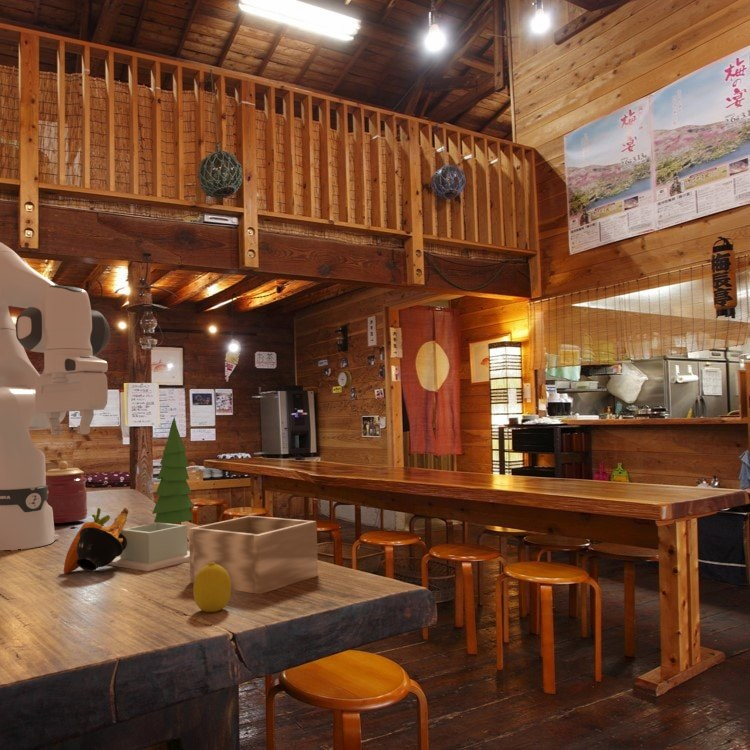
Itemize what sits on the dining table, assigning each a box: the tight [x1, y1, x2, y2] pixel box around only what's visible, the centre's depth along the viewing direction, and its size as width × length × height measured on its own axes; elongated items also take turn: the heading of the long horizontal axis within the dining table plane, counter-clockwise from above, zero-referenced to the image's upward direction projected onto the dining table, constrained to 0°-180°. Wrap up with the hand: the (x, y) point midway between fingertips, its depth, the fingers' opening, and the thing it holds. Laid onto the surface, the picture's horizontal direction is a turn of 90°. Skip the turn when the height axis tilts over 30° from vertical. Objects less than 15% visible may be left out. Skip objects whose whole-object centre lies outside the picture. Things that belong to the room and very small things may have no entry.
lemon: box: [192, 562, 232, 613], centre depth 100 cm, size 6×6×8 cm
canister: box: [46, 460, 88, 524], centre depth 201 cm, size 13×13×18 cm
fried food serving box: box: [188, 515, 319, 595], centre depth 120 cm, size 17×15×10 cm
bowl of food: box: [76, 507, 130, 573], centre depth 133 cm, size 9×11×18 cm
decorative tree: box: [151, 416, 195, 542], centre depth 161 cm, size 10×9×30 cm
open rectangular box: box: [107, 522, 190, 572], centre depth 139 cm, size 14×14×7 cm
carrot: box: [63, 507, 111, 575], centre depth 134 cm, size 5×5×15 cm
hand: (70, 434), depth 133 cm, fingers open, 8 cm apart
